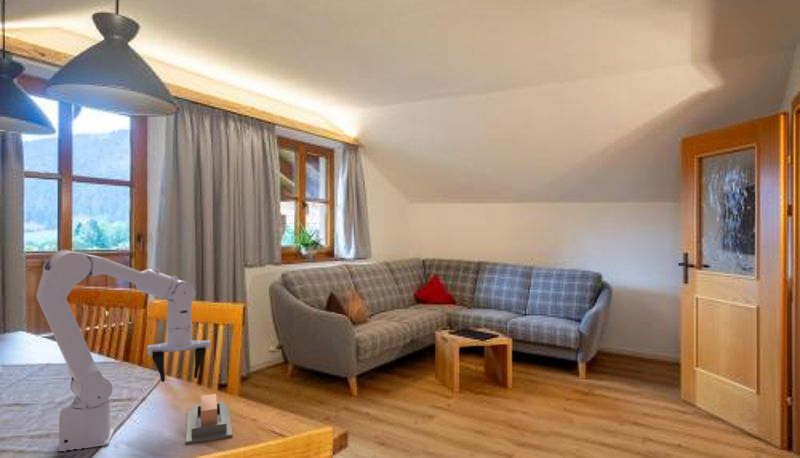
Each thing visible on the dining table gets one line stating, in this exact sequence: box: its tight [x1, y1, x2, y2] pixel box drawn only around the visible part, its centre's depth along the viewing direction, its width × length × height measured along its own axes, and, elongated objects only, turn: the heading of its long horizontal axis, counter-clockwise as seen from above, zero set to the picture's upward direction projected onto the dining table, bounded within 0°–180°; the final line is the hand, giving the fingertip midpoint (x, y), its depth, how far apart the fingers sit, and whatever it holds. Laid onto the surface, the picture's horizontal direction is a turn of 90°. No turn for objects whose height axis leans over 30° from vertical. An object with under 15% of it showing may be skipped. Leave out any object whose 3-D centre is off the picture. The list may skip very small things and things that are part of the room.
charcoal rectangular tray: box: [185, 400, 233, 445], centre depth 117 cm, size 10×18×3 cm, turn 23°
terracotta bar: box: [200, 393, 218, 425], centre depth 117 cm, size 4×10×5 cm, turn 23°
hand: (179, 378), depth 122 cm, fingers open, 7 cm apart
